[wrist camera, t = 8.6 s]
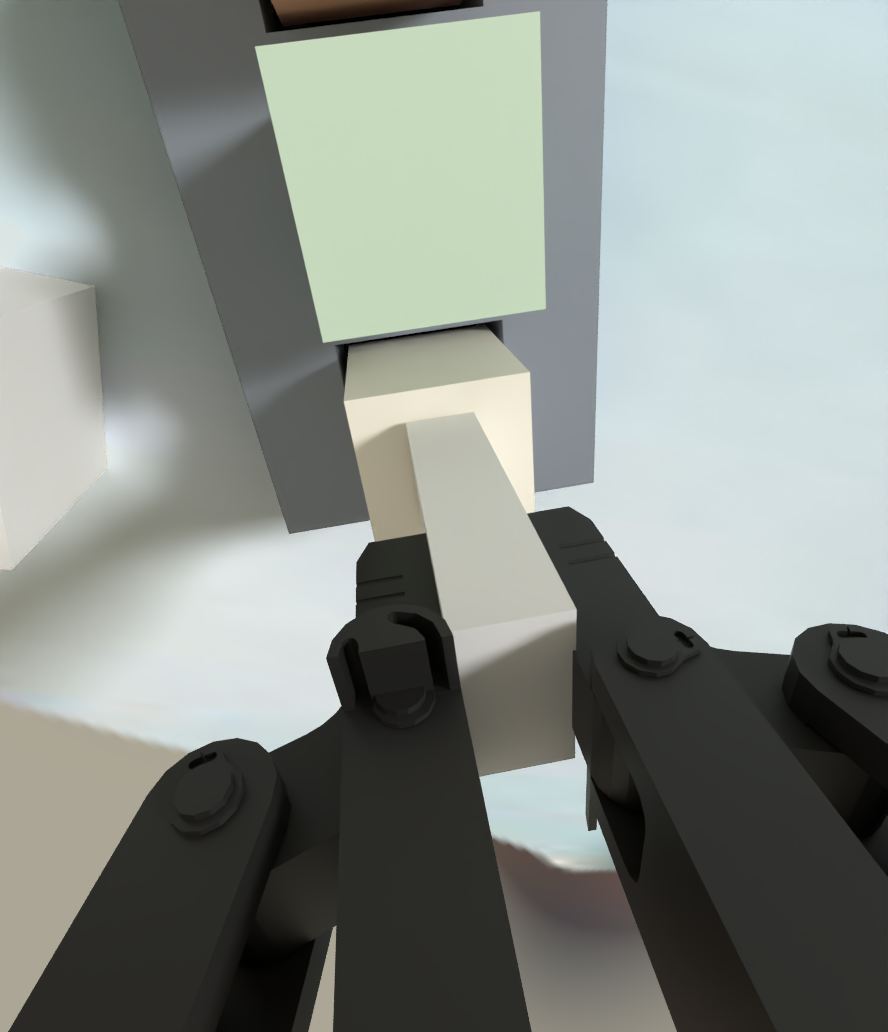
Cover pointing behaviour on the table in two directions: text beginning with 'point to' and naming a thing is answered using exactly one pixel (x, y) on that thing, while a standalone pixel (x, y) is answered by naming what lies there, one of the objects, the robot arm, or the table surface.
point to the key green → (414, 171)
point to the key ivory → (433, 413)
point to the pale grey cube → (46, 405)
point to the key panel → (279, 259)
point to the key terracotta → (347, 8)
